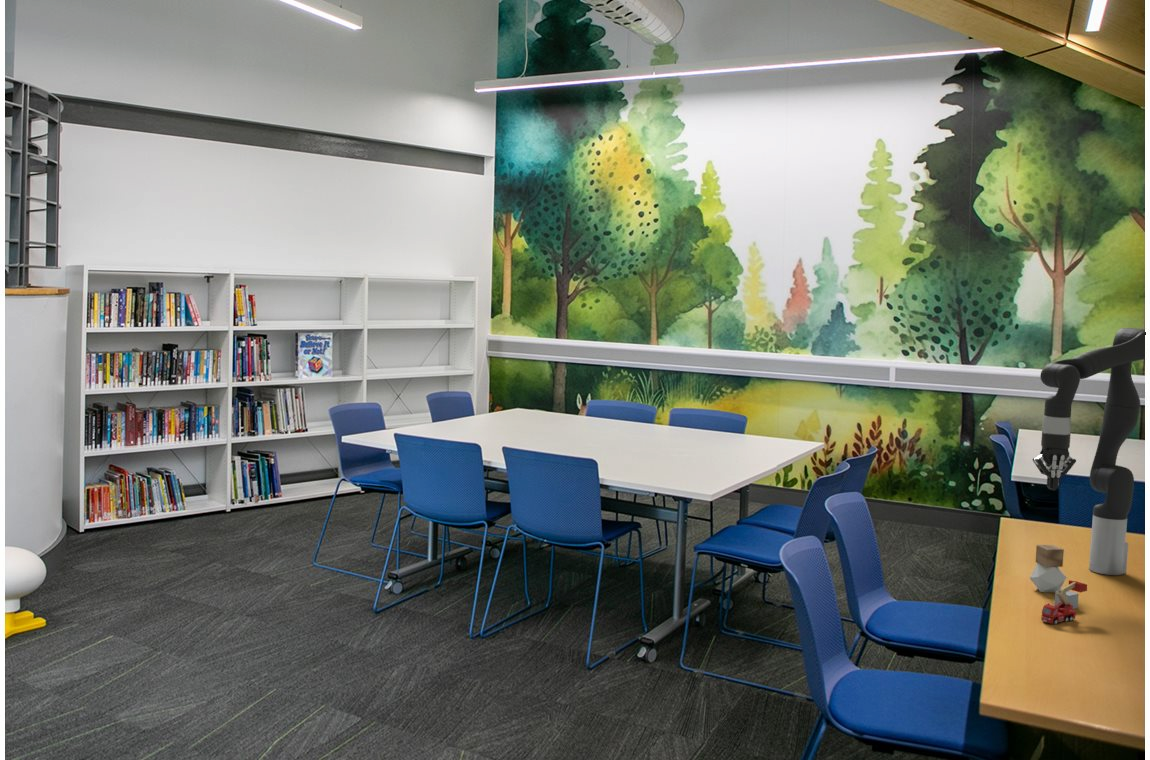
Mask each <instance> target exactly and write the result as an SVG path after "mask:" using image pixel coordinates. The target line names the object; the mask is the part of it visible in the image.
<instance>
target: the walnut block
mask: <svg viewBox="0 0 1150 760" xmlns="http://www.w3.org/2000/svg"><path fill="white" fill-rule="evenodd" d="M1035 549H1036V550H1035V563H1036V564H1037V563H1039V564H1041V565H1043V566H1045V567H1058V568H1062V567H1063V566H1064V554H1065V553H1064V551H1065V549H1064V548H1062V547H1059V546H1058V545H1057V546H1056V545H1055V544H1036V546H1035Z"/></svg>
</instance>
